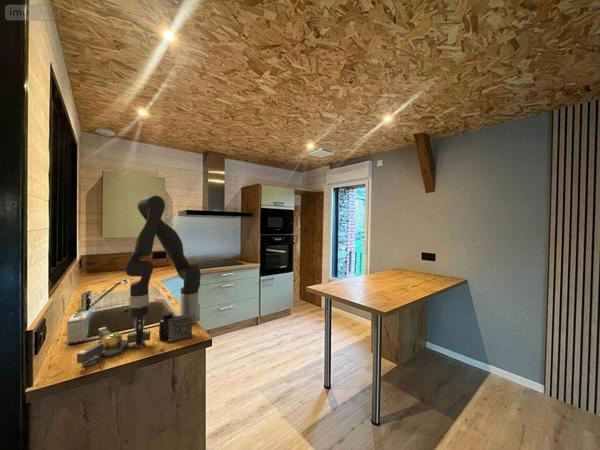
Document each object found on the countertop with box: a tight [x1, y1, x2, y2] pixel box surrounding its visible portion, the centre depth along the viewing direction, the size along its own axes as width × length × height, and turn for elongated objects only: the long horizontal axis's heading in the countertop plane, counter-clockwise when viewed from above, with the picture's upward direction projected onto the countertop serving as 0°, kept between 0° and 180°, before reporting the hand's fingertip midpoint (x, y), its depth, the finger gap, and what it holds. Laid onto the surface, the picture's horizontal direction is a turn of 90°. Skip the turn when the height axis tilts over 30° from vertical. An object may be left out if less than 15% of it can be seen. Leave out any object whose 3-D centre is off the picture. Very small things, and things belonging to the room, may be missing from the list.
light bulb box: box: [66, 311, 89, 345], centre depth 119 cm, size 11×7×11 cm, turn 35°
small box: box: [167, 314, 193, 344], centre depth 120 cm, size 11×6×10 cm, turn 118°
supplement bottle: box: [158, 311, 174, 342], centre depth 120 cm, size 7×7×12 cm
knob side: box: [98, 326, 112, 342], centre depth 114 cm, size 9×2×5 cm, turn 54°
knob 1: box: [76, 342, 103, 364], centre depth 98 cm, size 9×2×5 cm, turn 174°
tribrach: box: [81, 332, 146, 368], centre depth 108 cm, size 22×21×7 cm
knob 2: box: [126, 329, 151, 344], centre depth 112 cm, size 9×2×5 cm, turn 116°
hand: (139, 341), depth 112 cm, fingers closed on knob 2, 2 cm apart
